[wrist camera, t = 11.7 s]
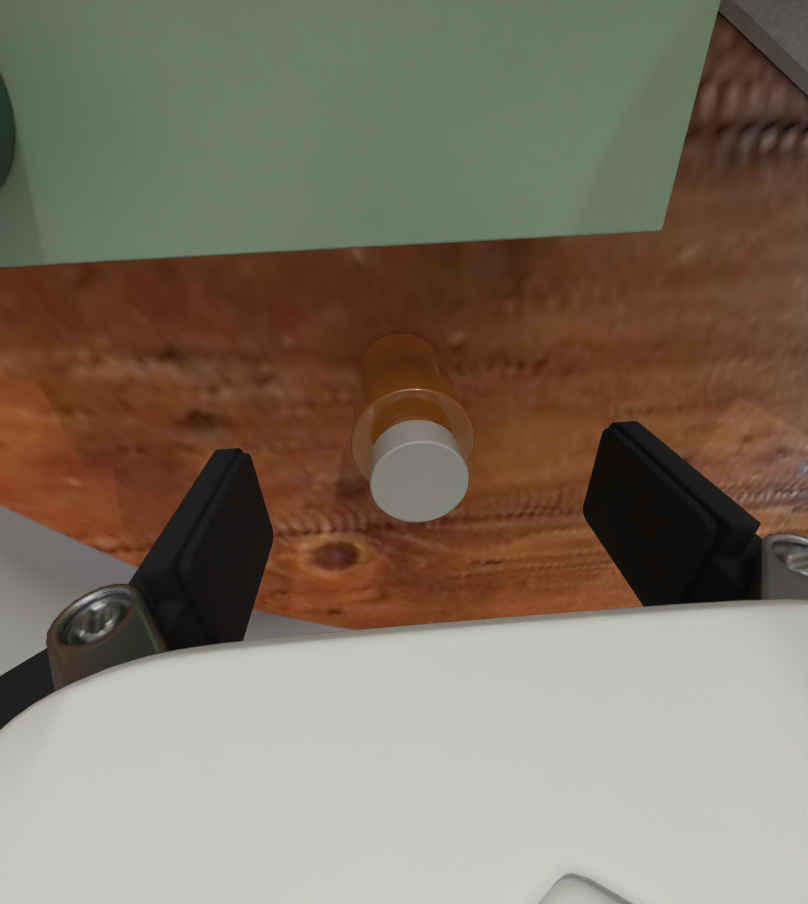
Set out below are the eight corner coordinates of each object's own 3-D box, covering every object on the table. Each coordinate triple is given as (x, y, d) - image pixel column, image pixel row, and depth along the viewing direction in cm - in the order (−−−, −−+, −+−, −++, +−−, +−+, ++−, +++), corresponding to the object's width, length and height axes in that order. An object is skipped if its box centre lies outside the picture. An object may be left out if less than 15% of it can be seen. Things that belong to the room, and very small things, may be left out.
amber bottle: (444, 329, 18) (496, 414, 10) (443, 412, 20) (486, 533, 13) (352, 335, 18) (337, 425, 10) (361, 418, 20) (355, 544, 12)
